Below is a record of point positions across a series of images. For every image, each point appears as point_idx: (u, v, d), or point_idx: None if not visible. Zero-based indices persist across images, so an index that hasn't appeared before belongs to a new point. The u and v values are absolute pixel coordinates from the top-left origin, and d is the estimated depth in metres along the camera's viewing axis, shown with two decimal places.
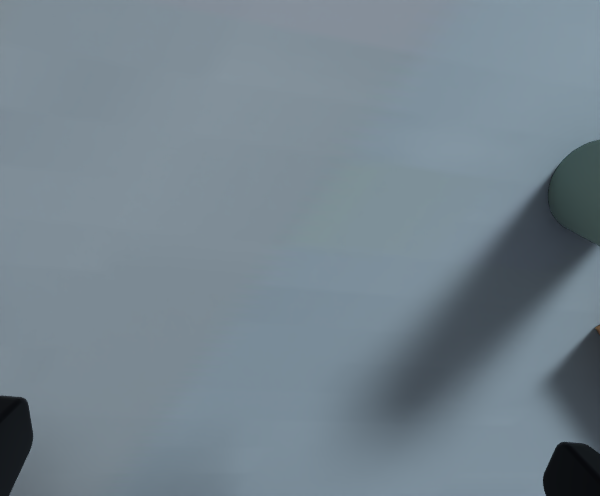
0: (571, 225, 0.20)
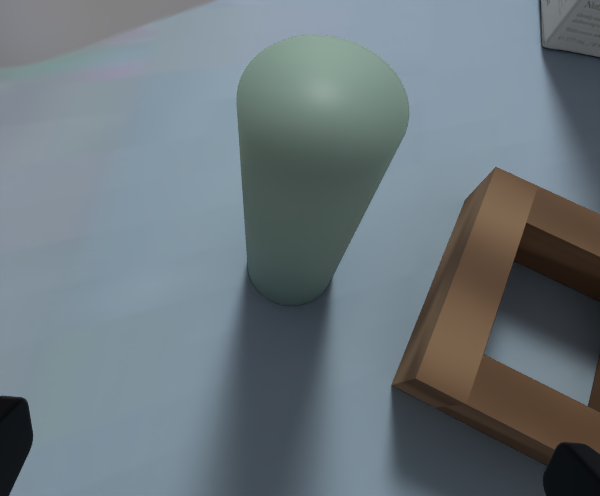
0: (272, 293, 0.21)
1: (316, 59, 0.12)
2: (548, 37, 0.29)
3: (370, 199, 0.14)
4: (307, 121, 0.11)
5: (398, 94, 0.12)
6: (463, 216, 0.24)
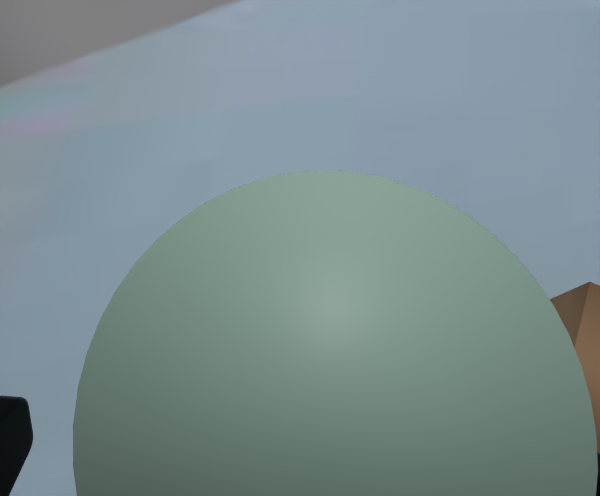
0: None
1: (321, 249, 0.04)
2: None
3: None
4: (294, 481, 0.04)
5: (555, 357, 0.04)
6: None
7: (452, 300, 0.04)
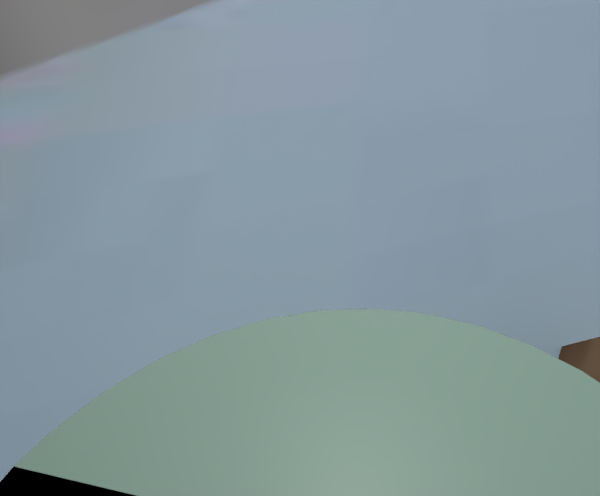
0: None
1: (341, 494, 0.02)
2: None
3: None
4: None
5: None
6: None
7: None
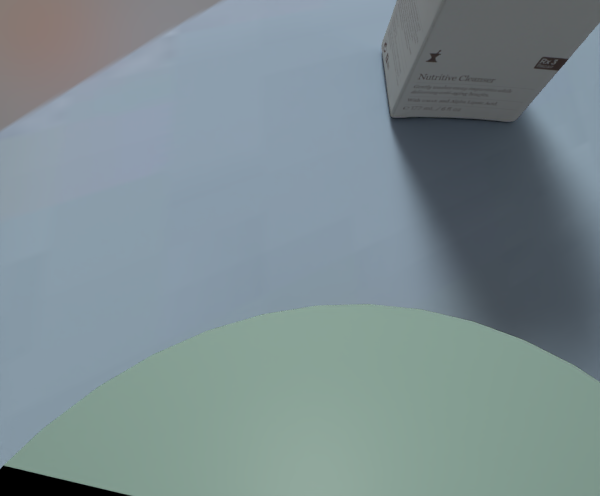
0: None
1: (336, 489, 0.02)
2: (392, 108, 0.26)
3: None
4: None
5: None
6: None
7: None
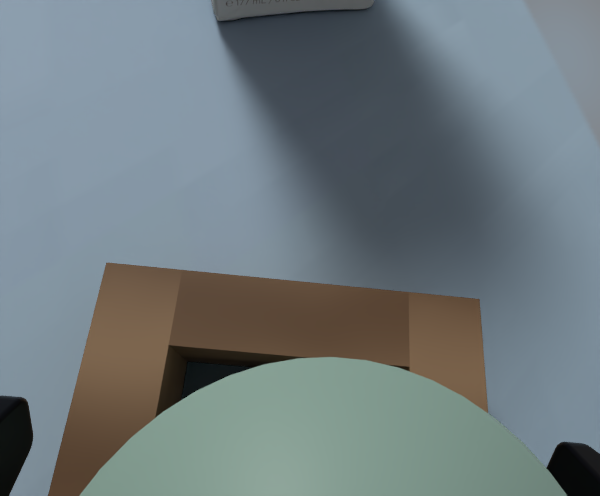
0: None
1: (307, 474, 0.03)
2: (214, 7, 0.21)
3: None
4: None
5: None
6: None
7: None
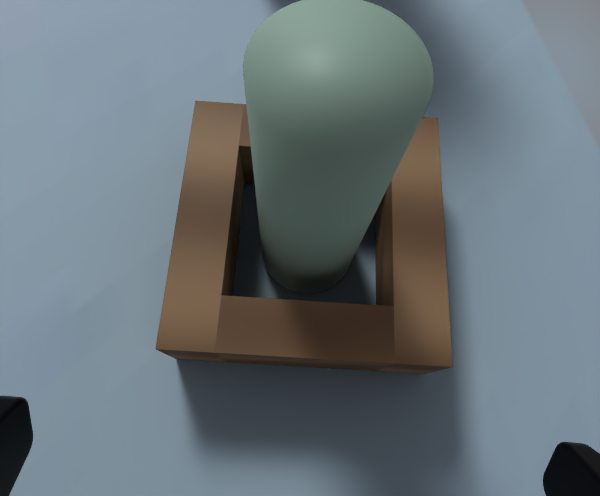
0: (289, 281, 0.20)
1: (329, 23, 0.11)
2: None
3: (392, 176, 0.12)
4: (321, 91, 0.10)
5: (421, 58, 0.11)
6: None
7: (381, 40, 0.11)
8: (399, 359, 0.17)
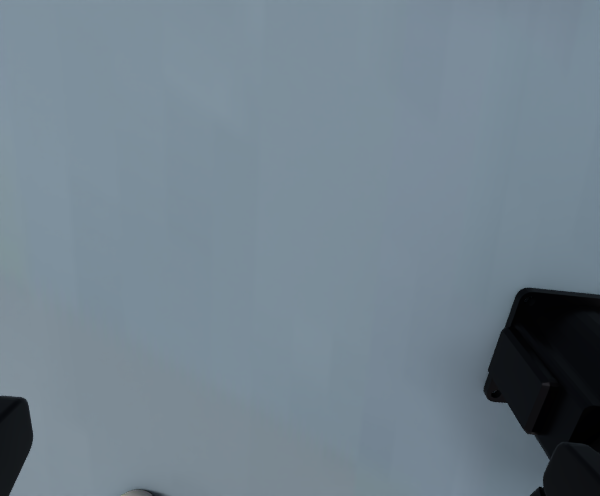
0: None
1: None
2: None
3: None
4: None
5: None
6: None
7: None
8: None
